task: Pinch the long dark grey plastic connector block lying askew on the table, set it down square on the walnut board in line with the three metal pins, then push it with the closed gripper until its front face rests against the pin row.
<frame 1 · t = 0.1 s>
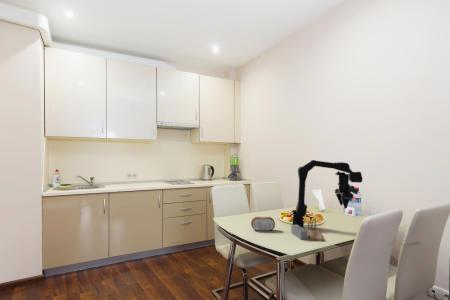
hand: (343, 206, 161), 15 cm above the table, tool pointing down, fingers open, 9 cm apart
header board: (314, 235, 151), on the table
tin: (263, 230, 160), on the table
plug: (299, 236, 149), on the table
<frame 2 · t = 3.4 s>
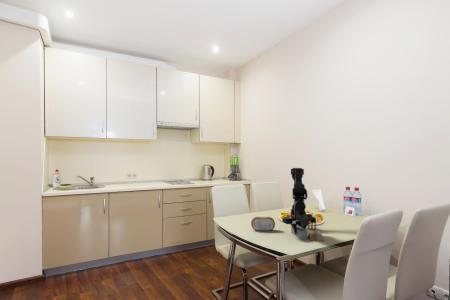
hand: (299, 234, 149), 1 cm above the table, tool pointing down, fingers closed on plug, 4 cm apart
plug: (299, 236, 149), on the table, touching gripper
everything else where it was.
when the fingers open (3 cm above the table, at t = 7.1 s): plug stays where it is, resting on header board.
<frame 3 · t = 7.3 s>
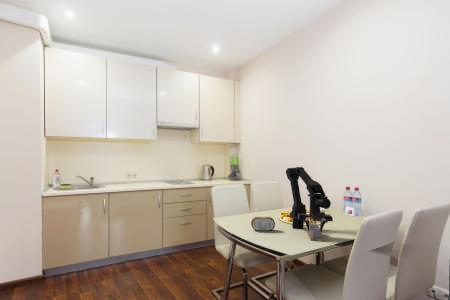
hand: (314, 231, 149), 3 cm above the table, tool pointing down, fingers open, 6 cm apart
plug: (314, 234, 149), point 1 cm above the table, touching header board
everything else where it was.
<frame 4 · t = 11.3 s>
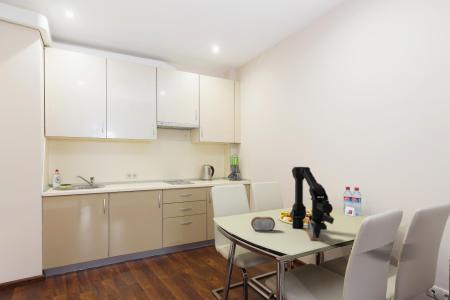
hand: (317, 237, 141), 2 cm above the table, tool pointing down, fingers closed
plug: (314, 234, 149), point 1 cm above the table, touching gripper, header board
everything else where it was.
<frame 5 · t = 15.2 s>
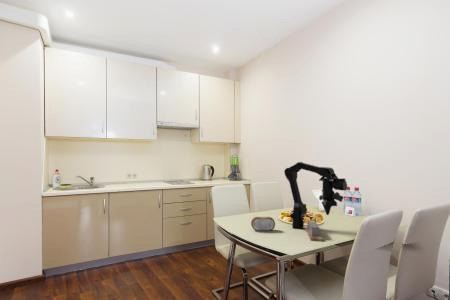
hand: (327, 214, 151), 12 cm above the table, tool pointing down, fingers closed
plug: (313, 232, 152), point 1 cm above the table, touching header board
everything else where it was.
at the end: plug 0.0 cm from the target spot, point 1.2 cm above the table; plug tilted 0° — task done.
